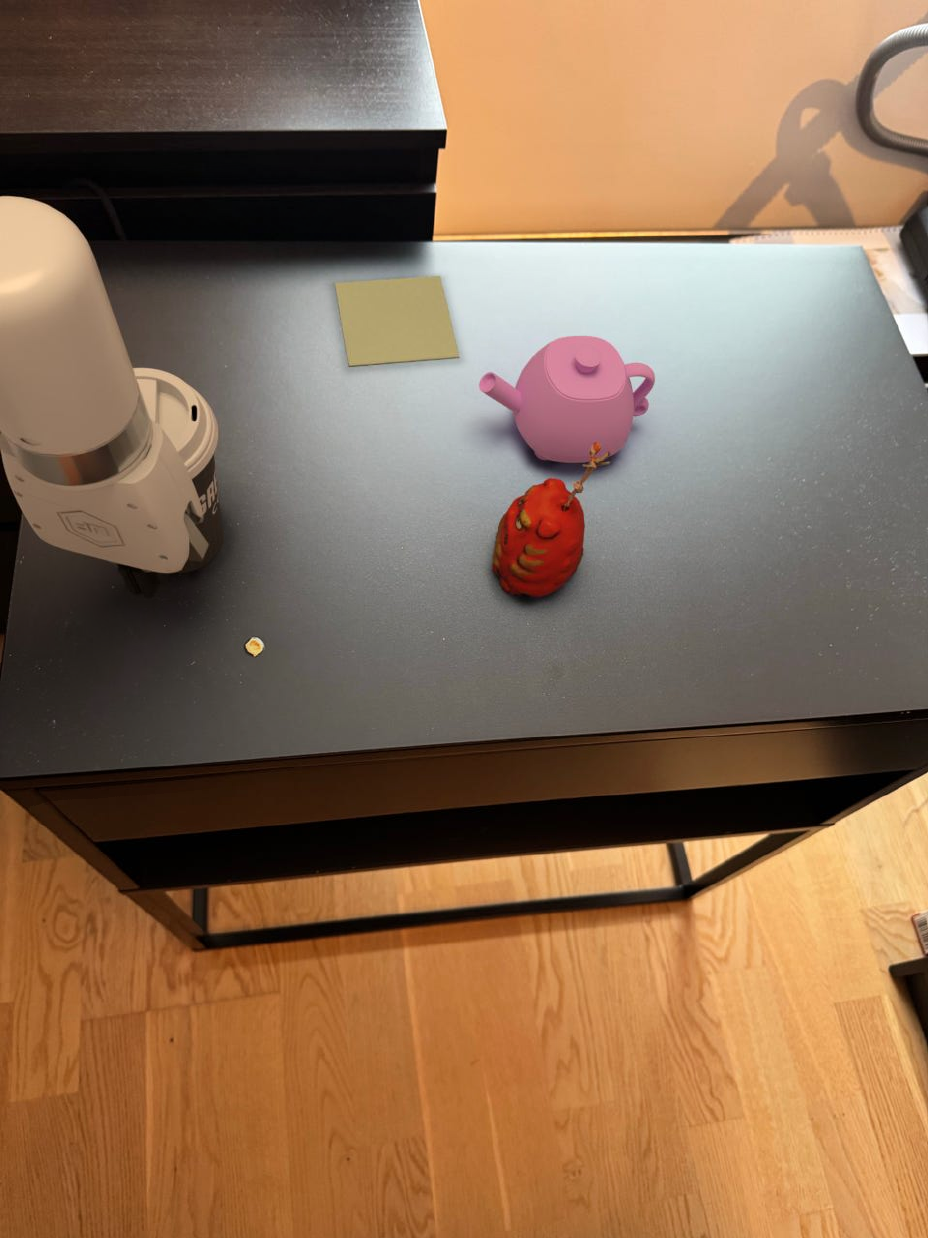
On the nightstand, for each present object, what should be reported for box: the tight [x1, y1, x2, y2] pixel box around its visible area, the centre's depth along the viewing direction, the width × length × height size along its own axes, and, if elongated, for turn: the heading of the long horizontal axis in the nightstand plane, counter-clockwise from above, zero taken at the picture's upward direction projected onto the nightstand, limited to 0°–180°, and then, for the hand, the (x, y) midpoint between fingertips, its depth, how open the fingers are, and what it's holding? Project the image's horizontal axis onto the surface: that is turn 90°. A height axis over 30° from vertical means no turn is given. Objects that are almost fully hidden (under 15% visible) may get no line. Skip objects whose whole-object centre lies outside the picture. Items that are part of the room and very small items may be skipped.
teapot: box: [478, 335, 656, 464], centre depth 75 cm, size 10×15×9 cm
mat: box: [334, 275, 460, 368], centre depth 83 cm, size 10×10×1 cm
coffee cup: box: [121, 367, 224, 574], centre depth 65 cm, size 10×10×15 cm
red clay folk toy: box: [491, 443, 611, 598], centre depth 66 cm, size 8×7×15 cm
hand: (150, 579), depth 66 cm, fingers closed
